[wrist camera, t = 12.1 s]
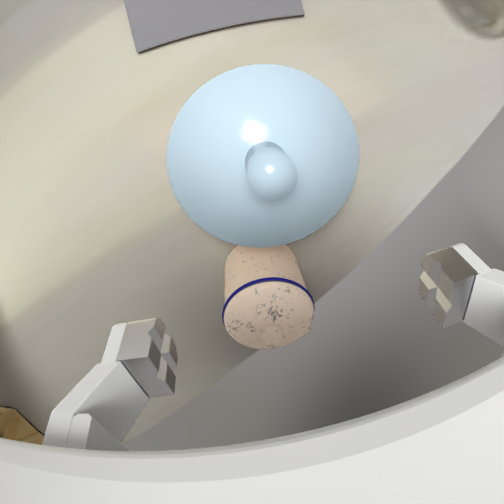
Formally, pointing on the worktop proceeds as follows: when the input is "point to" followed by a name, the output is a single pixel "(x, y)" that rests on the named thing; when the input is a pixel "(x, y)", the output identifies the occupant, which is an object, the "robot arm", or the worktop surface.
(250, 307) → the teacup with lid
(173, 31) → the mat
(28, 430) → the knife block
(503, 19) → the worktop surface
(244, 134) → the lid
